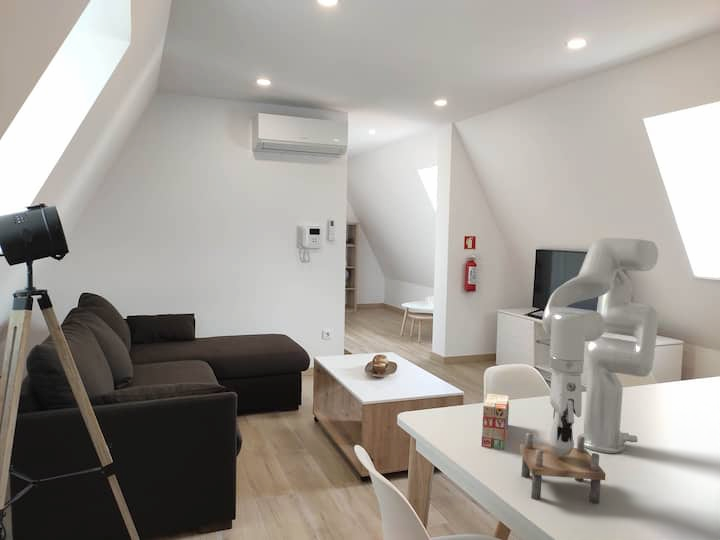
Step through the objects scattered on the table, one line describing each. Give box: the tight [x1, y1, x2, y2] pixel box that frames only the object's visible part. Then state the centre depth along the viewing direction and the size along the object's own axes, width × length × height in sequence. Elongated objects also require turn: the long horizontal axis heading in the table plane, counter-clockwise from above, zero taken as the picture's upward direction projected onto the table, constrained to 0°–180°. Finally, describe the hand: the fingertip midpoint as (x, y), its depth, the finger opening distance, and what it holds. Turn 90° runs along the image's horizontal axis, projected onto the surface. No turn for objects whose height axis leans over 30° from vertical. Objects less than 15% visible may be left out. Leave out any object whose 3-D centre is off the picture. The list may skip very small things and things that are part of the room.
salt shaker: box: [547, 406, 575, 456], centre depth 127 cm, size 6×6×13 cm
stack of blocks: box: [481, 393, 510, 451], centre depth 160 cm, size 21×6×12 cm, turn 161°
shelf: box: [519, 432, 607, 505], centre depth 127 cm, size 16×14×11 cm
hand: (561, 439), depth 127 cm, fingers closed on salt shaker, 3 cm apart
